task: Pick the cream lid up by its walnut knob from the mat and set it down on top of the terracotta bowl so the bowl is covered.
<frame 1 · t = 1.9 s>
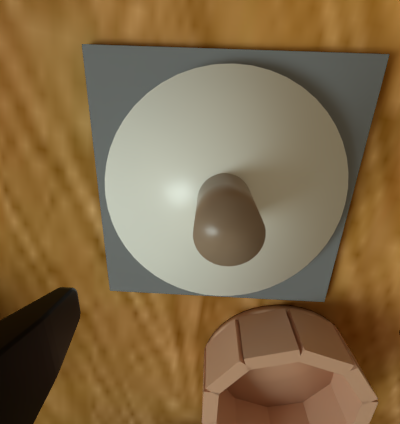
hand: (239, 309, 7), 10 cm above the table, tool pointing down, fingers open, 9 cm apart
lid: (223, 194, 16), resting on mat
bowl: (273, 360, 22), on the table
mat: (223, 192, 17), on the table
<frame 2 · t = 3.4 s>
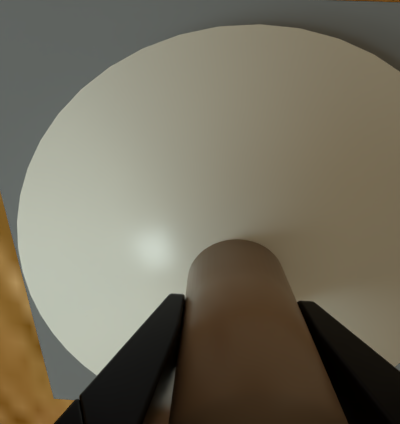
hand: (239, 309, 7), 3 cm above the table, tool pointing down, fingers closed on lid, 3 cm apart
lid: (233, 267, 9), resting on mat, touching gripper
mat: (232, 259, 10), on the table
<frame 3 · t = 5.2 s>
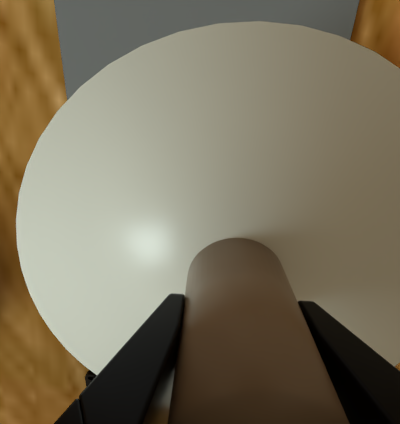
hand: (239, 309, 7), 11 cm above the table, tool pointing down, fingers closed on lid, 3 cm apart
lid: (233, 265, 9), point 9 cm above the table, touching gripper
mat: (200, 78, 15), on the table
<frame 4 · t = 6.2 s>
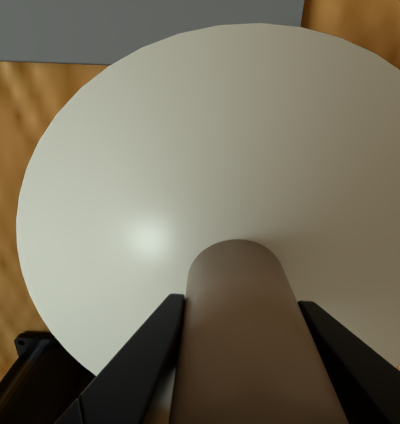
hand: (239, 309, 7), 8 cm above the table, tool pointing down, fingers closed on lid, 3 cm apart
lid: (233, 267, 9), point 6 cm above the table, touching gripper
when the fingers open (7 cm above the table, at t = 7.0 s): lid drops 1 cm, resting on bowl.
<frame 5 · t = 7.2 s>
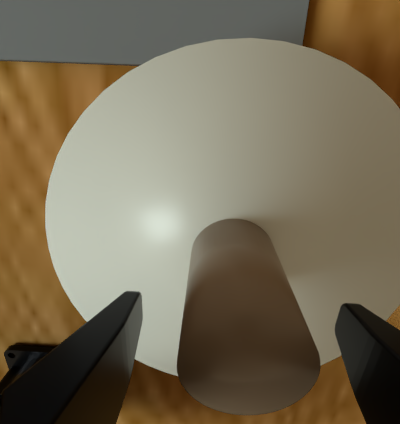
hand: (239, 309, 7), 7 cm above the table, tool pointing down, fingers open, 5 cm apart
lid: (230, 245, 11), point 4 cm above the table, touching bowl
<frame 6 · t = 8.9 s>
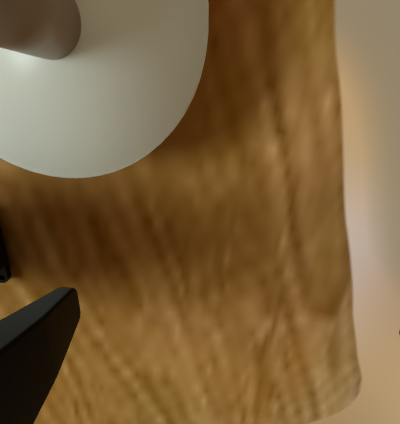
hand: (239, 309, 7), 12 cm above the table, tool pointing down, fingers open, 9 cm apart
lid: (55, 23, 12), point 4 cm above the table, touching bowl
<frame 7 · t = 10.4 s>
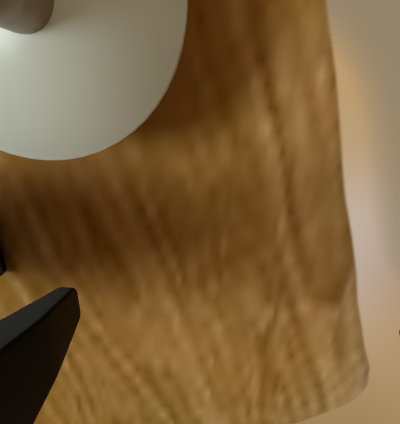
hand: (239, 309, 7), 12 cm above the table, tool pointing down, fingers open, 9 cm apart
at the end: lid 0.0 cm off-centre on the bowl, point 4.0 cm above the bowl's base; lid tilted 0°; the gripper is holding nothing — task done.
